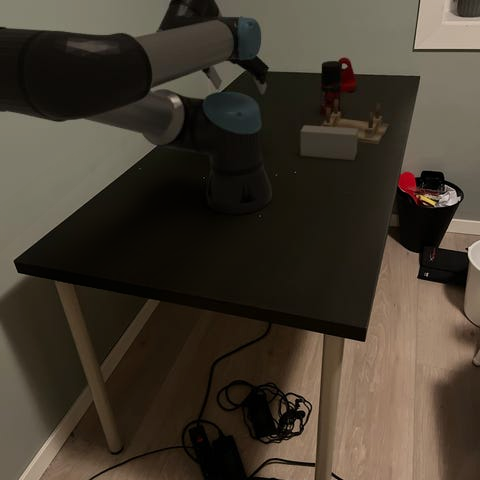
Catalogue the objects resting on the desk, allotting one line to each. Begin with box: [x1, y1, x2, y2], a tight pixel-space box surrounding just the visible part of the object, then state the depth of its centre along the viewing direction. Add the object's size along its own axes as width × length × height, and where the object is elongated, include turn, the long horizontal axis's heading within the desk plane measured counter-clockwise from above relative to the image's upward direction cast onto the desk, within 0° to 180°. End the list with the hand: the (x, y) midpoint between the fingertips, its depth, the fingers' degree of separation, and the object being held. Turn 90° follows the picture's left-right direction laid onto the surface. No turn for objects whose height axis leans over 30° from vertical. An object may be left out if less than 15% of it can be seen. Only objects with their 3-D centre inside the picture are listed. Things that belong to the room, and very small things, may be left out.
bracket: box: [338, 56, 357, 94], centre depth 163 cm, size 9×6×10 cm
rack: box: [320, 99, 390, 145], centre depth 135 cm, size 12×18×8 cm, turn 63°
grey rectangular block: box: [300, 125, 358, 161], centre depth 124 cm, size 4×14×7 cm, turn 71°
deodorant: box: [320, 60, 343, 117], centre depth 145 cm, size 6×6×15 cm
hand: (241, 87), depth 128 cm, fingers open, 13 cm apart
